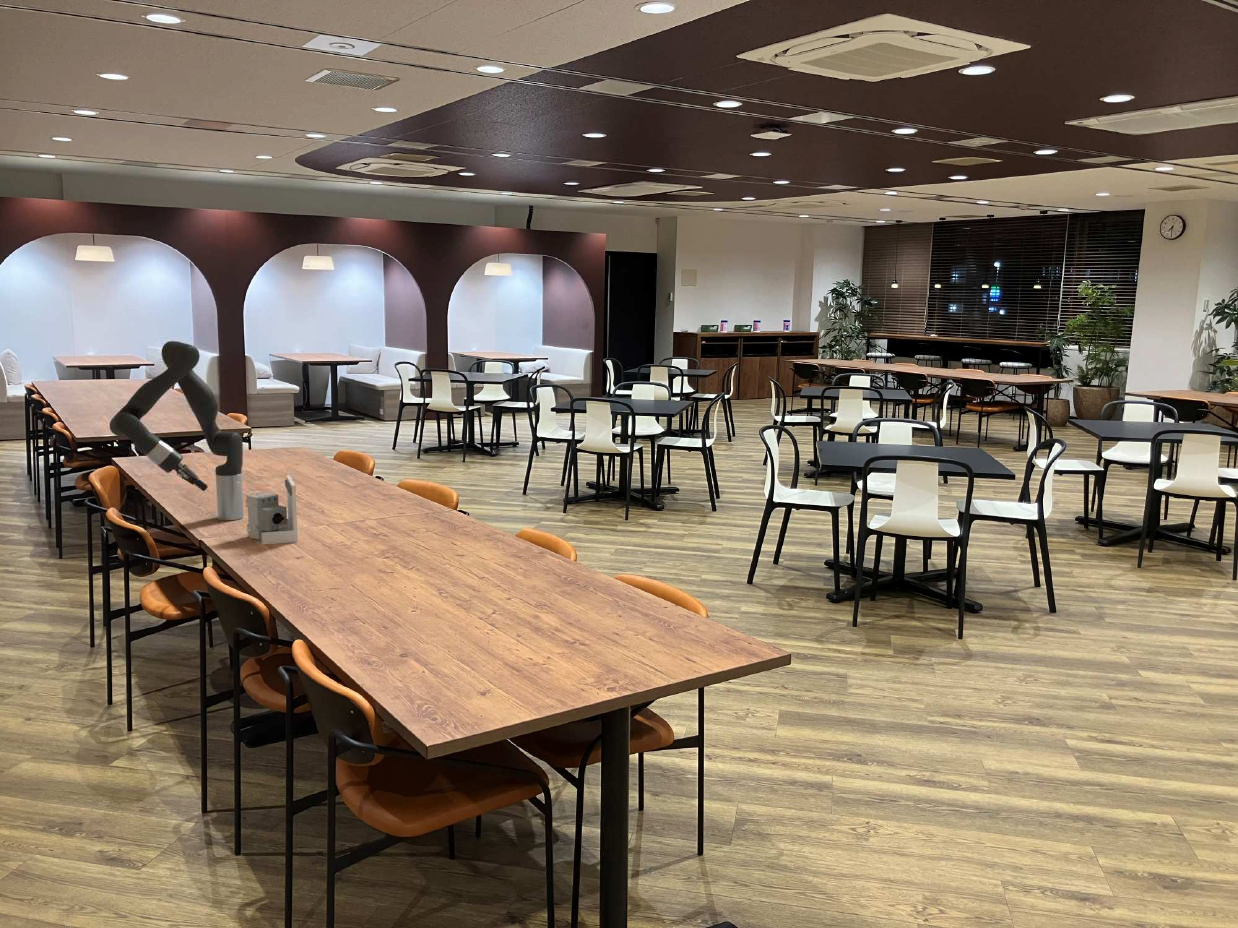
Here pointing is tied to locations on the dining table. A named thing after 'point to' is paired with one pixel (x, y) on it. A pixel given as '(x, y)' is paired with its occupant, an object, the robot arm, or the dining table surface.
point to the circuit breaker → (264, 514)
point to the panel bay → (291, 521)
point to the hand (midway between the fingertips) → (205, 488)
